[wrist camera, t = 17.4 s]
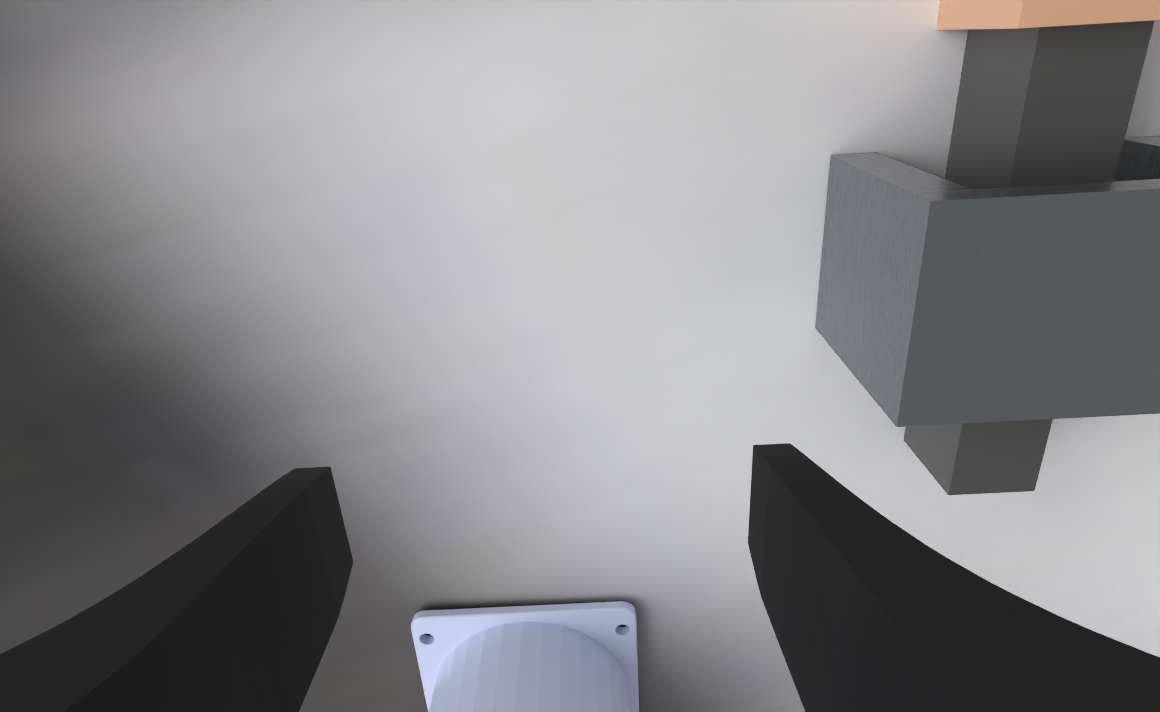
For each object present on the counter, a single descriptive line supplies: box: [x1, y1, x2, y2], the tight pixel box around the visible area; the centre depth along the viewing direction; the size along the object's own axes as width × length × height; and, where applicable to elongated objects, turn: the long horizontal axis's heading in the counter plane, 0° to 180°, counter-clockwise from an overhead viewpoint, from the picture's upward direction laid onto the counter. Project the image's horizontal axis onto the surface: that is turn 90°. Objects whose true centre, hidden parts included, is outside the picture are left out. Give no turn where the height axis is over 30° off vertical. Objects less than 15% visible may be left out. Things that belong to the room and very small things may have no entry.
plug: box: [904, 0, 1160, 495], centre depth 17 cm, size 17×4×4 cm, turn 3°
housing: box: [815, 136, 1160, 427], centre depth 17 cm, size 5×11×6 cm, turn 93°
